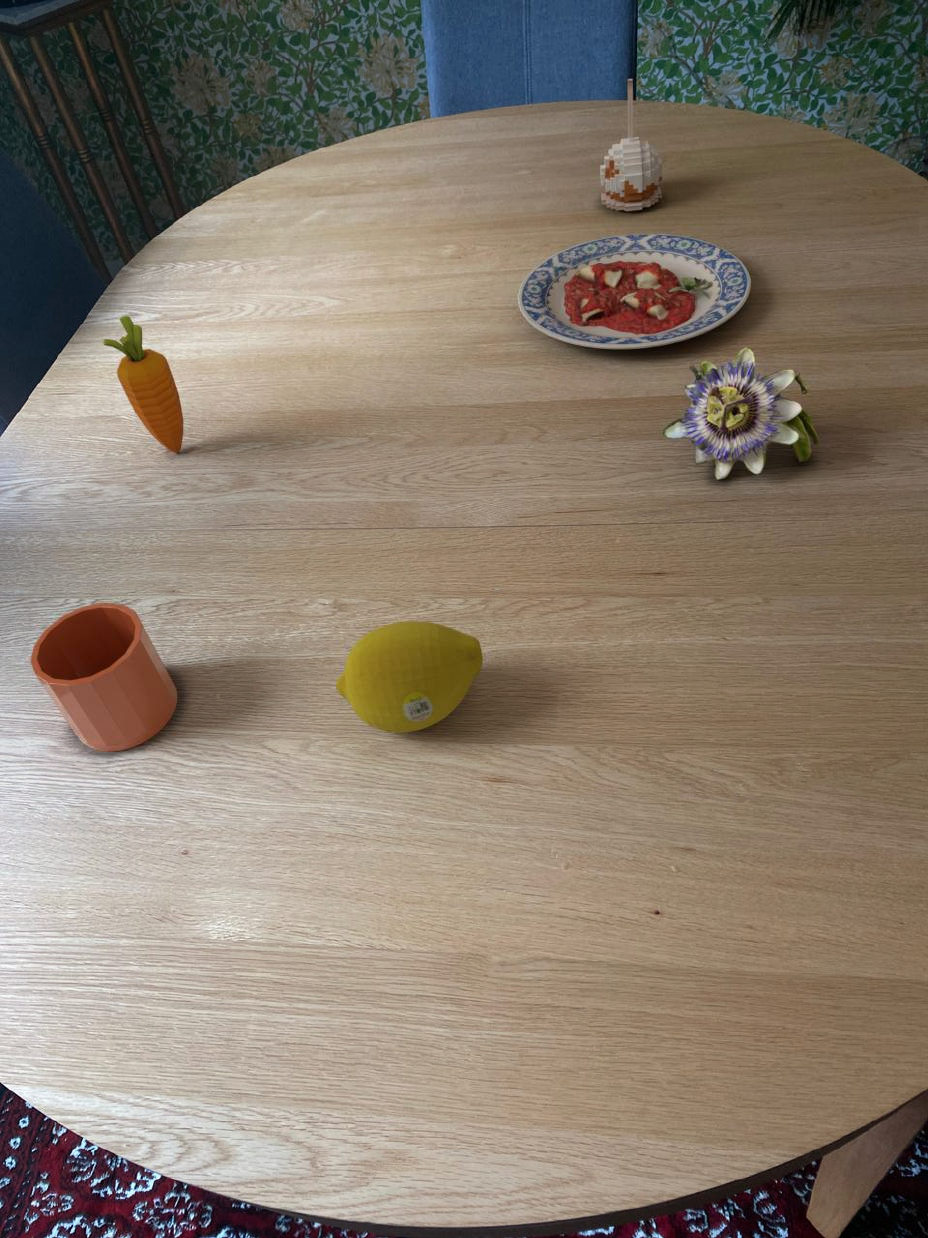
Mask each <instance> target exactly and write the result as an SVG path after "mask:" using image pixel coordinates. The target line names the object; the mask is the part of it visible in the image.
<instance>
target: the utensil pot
mask: <svg viewBox="0 0 928 1238" xmlns="http://www.w3.org/2000/svg"><path fill="white" fill-rule="evenodd" d="M30 656H31V657H30V665H31V667H32V671H33V673H34V676H35V677H36V678H37V680H38V681H39V683H40V684H41V686H42V687H43V689H44V690H45V691H46V693H47V695H48V696H49V698H50V699H51V701H52V702H53V703H54V705H55V706H56V708H57V709H58V711H59V712H60V713H61V715H62V717H63V719H64V720H65V721H66V723H67V724H68V725H69V727H70V728H71V730H72V731H73V733H74V735H75V736H76V737H78V739H79V740H80V742H81V743H83V744H84V746H87V747H89V748H90V749H92V750H95V751H99V752H107V753H109V752H121V751H124V750H125V751H126V750H128V749H132V748H135V747H137V746H139V745H141V744H143V743H145V742H147V741H149V740H151V739H152V738H153V737H154V736H156V735H157V734H158V733H160V732H161V731H162V730H163V729H164V728H165V727H166V725H168V723H169V721H170V720H171V718H172V717H173V715H174V713H175V711H176V707H177V704H178V690H177V688H176V685H175V683H174V682H173V680H172V678H171V676H170V674H169V672H168V670H167V668H166V667H165V664H164V663H163V661H162V659H161V656H160V654H159V653H158V651H157V649H156V647H155V646H154V644H153V642H152V640H151V637H150V636H149V635H148V632H147V631H146V629H145V626H144V624H143V622H142V621H141V619H140V617H139V615H138V613H137V611H135V610H133V609H132V608H130V607H128V606H126V605H124V604H122V603H114V602H113V603H112V602H100V603H94V604H89V605H84V606H81V607H78V608H76V609H74V610H73V611H71V612H68V613H66V614H64V615H62V616H61V617H59V618H58V619H57V620H56V621H54V622H53V623H52V624H50V625H49V626H48V627H46V628H45V629H44V631H43V632H42V633H41V634H40V636H39V637H38V638H37V640H36V642H35V643H34V644H33V648H32V652H31V655H30Z"/></svg>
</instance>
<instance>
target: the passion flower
mask: <svg viewBox="0 0 928 1238" xmlns="http://www.w3.org/2000/svg"><path fill="white" fill-rule="evenodd" d="M755 368H756V357H755V352H754V350H753V349H752V348H750V347H749V345H747V346H745V347H744V348H741V350H740V351H739V352H737V355H735V357H734V358H733V360H732V361H730V362H728V363H725V364H724V365H722V364H720V366H719V367H717V365H715V364H713V363H712V362H710V361H708V360H705V361H701V362H700V369H699V370H698V369H697V367H695V365H694V364H690V365H689V370H690V371H691V372H692V373H693V375H694V377H695V380H694V381H693V382H692V383H690V384H685V385H684V387H683V391H684V394H685V395H686V396H687V398H688V399H689V401H690V402H691V403H690V405H689V406H688V408H687V409H685V410H683V411H682V414H681V417H680V418H677V419H675V420H673V421H672V422H671V423H669V424H667V425H666V426H665V427H664V428H663V431H662V435H663V436H664V437H665V438H667V439H672V440H678V439H684V438H686V439H688V440H690V442H691V444H692V445H693V446H695V449H694V459H693V460H694V464H695V465H697V466H698V465H703V464H705V463H708V462H710V463H712V464H713V465H714V476H715V480H718V481H719V480H724V479H726V478H727V477H728V476H729V474H730V473H731V471H732V469H733V467H734V466H735V464H736V463H737V462H742V463H743V464H744V465H745V468H746V470H748V471H749V472H751V473H752V474H754V475H759V474H761V473H762V471H763V469H764V468H765V465H766V462H767V459H766V458H767V451H768V449H769V446H770V445H772V444H779V445H785V446H788V445H789V447H790V449H791V450H792V451H793V453H794V455H795V457H796V459H797V460H798V462H799V463H801V462H803V463H805V462H807V461H808V460H809V459H810V457H811V454H812V448H811V447H812V446H811V440H810V437H811V438H812V442H813V444H814V445H816V446H818V445H819V443H820V440H819V435H818V433H817V431H816V429H815V426H814V424H813V421H812V417H811V416H810V415H809V414H808V412H806V411H805V410H804V409H803V408H802V405H801V404H800V403H799V402H797V401H796V400H793V399H789V398H785V397H783V396H781V393H782V392H783V391H784V390H785V389H787V388H788V387H789V386H790V384H792V383H793V382H794V381H796V382H797V384H798V385H799V386H800V390H801V394H802V395H806V394H808V393H809V391H810V390H809V387H808V385H807V384H806V382H805V380H804V379H803V377H802V376H801V373H800V372H799V370H797V369H796V370H794V369H784V370H778V371H775V372H773V373H771V374H769V375H764V376H762V377H761V378H760V374H761V373H760V372H758V373H757V374H756V371H755V370H756V369H755ZM809 436H810V437H809Z"/></svg>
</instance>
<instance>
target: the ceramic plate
mask: <svg viewBox="0 0 928 1238" xmlns="http://www.w3.org/2000/svg"><path fill="white" fill-rule="evenodd" d="M751 283H752V280H751V275H750V273H749V270H748V268H747V267H746V266H745V264H744V263H743V261H742V260H740V258H738V257H736V256H735V255H734V254H733V253H732V252H730V251H729V250H727V249H725V248H724V247H721V246H718V245H717V244H713V243H711V242H708V241H705V240H702V239H698V238H694V237H689V236H683V235H675V234H668V233H632V234H621V235H620V234H619V235H614V236H606V237H602V238H598V239H594V240H589V241H585V242H581V243H579V244H576V245H574V246H571V247H568V248H566V249H563V250H561V251H558V252H556V253H555V254H552V255H551V256H549V257H547V258H546V259H545V260H543V261H542V262H540V263H539V264H537V265H536V266H535V267H534V268H533V269H531V270H530V271H529V273H528V274H527V275H526V276H525V278H524V279H523V281H522V282H521V284H520V286H519V289H518V293H517V304H518V307H519V310H520V313H521V314H522V316H523V318H524V319H525V320H526V321H527V322H528V323H529V324H530V325H531V326H533V327H534V328H535V329H536V330H538V331H539V332H541V333H542V334H545V335H546V336H549V337H551V338H553V339H555V340H558V341H560V342H564V343H566V344H567V343H568V344H572V345H576V346H579V347H586V348H594V349H606V350H635V349H636V350H638V349H647V348H653V347H661V346H666V345H671V344H675V343H679V342H682V341H686V340H687V341H688V340H689V339H692V338H695V337H697V336H700V335H703V334H705V333H708V332H709V331H712V330H713V329H715V328H717V327H719V326H721V325H722V324H724V323H726V322H727V321H728V320H730V319H731V318H732V317H734V316H735V315H736V314H737V313H738V312H739V311H740V310H741V308H742V307H743V306H744V305H745V303H746V302H747V299H748V298H749V295H750V292H751Z"/></svg>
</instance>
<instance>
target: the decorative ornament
mask: <svg viewBox="0 0 928 1238" xmlns="http://www.w3.org/2000/svg"><path fill="white" fill-rule="evenodd" d="M633 82H634V81H633V78H628V79H627V132H628V133H627V137H626V138H621V139H620V143H614V144H612V145H611V148H610V149H607V152H608V155H604V157H603V158H604V164H601V165H599V167H600V168H599V174H600V175H599V176H600V186H601V187H604V192H603V193H600V199H601V206H602V205H603V206H604V205H606V209H609V208H610V209H611V210H615V211H624V212H633V211H640V210H643V208H651V206H652V205H653V206H654V205H655V203H659V199H663V193H662V188H661V186H659V184H660V183H659V182H662V181H663V159H662V156H659V154H658V150H657V147H655V148H654V147H653V144H652V143H651V144H649V140H647V139H646V140H640V136H634V108H633V107H634V89H633V88H634V87H633V86H634V85H633V84H634V83H633Z"/></svg>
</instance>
